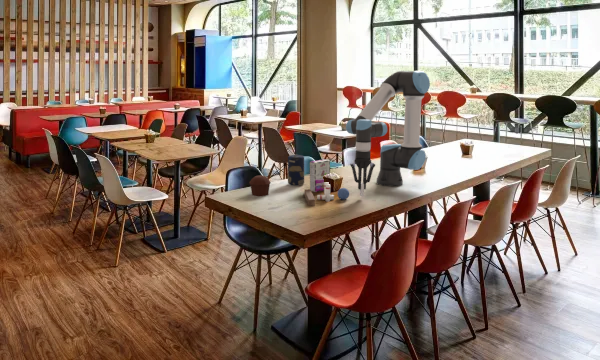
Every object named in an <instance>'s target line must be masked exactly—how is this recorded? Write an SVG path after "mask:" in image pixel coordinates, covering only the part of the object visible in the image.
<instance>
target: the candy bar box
mask: <svg viewBox="0 0 600 360" xmlns="http://www.w3.org/2000/svg"><path fill="white" fill-rule="evenodd" d="M326 174H330V175H331V160H330V159H319V160H314V161H309V189H310V190H311V192H312V193H313V192H314V193H317V192H324V179H323V176H324V175H326Z"/></svg>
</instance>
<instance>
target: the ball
mask: <svg viewBox="0 0 600 360" xmlns="http://www.w3.org/2000/svg"><path fill="white" fill-rule="evenodd" d="M337 197H338V198H339V199H340V200H343V201H344V200H347V199H348V198H349V197H350V192H349V189H348V188H345V187H342V188H339V189H338V190H337Z"/></svg>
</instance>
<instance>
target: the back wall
mask: <svg viewBox="0 0 600 360" xmlns="http://www.w3.org/2000/svg"><path fill="white" fill-rule="evenodd" d="M304 197H305V200H306V203H307V205H308V206H309V207H310V206H316V199H315V196H314V194H313V191H311V190H310V188H309V189H307V188H306V189H304Z"/></svg>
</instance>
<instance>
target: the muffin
mask: <svg viewBox="0 0 600 360" xmlns="http://www.w3.org/2000/svg"><path fill="white" fill-rule="evenodd" d="M270 184H272V183H271V181H270V180H269V178H268V177H267V176H265V175H261V174H260V175H256V176H254V177H252V178H251V179H250V180H249V185H250V189H251V196H254V197H266V196H269V192H270V186H271V185H270Z"/></svg>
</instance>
